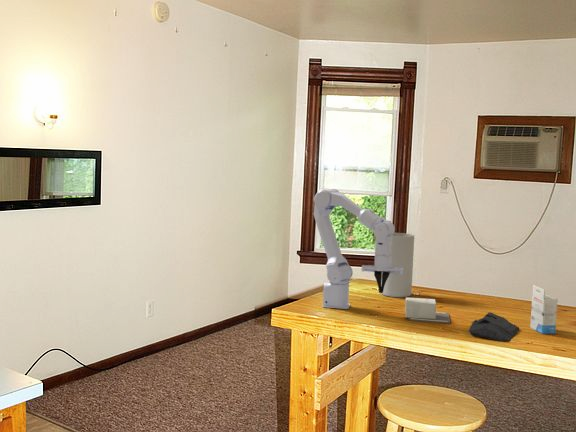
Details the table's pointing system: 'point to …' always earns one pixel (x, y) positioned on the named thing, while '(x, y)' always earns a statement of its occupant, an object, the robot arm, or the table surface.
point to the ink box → (543, 312)
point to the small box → (420, 308)
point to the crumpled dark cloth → (494, 328)
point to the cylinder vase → (400, 266)
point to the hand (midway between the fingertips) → (381, 292)
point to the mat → (439, 319)
